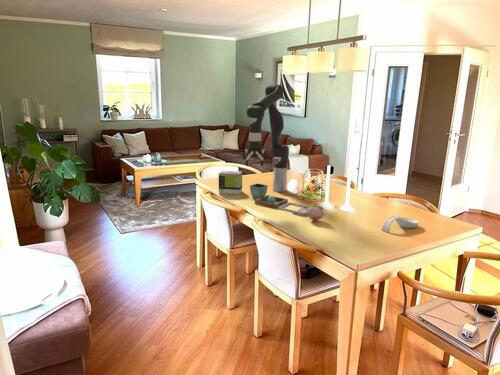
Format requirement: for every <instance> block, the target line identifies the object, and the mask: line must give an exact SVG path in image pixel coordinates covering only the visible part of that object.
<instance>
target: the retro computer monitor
mask: <svg viewBox="0 0 500 375" xmlns="http://www.w3.org/2000/svg"><path fill="white" fill-rule="evenodd" d="M241 193H243V171H242V170H240V171H235V170H221V171H220V172H218V194H221V195H222V194H225V195H236V196H237V195H241Z"/></svg>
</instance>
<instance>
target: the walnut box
mask: <svg viewBox="0 0 500 375" xmlns="http://www.w3.org/2000/svg"><path fill="white" fill-rule="evenodd" d="M269 196H271V195H269V194H268V195H267V194H266V195H265V197H262V198H259V199H257V198H256V199H254V204H255V205H257V206H263V207H266V208H271V209H278V207H279V206H282V205H284V204H286V203H288V201H289V199H287V198H282V197H279V196H274V197H275V202H274V203H269V202H268V197H269Z"/></svg>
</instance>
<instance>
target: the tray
mask: <svg viewBox="0 0 500 375" xmlns="http://www.w3.org/2000/svg"><path fill="white" fill-rule="evenodd" d="M289 205H292V206H296V207H299V208H300V207H301V208H300V209H298V210H294V209H291V208H285V207H287V206H289ZM308 206H309V205H304V204H300V203H295V202H291V201H289V202H288V203H286V204H284V205H282V206H279V207H278V208H277V210H281V211H285V212H290V213H291V214H293V215H296V216H301V217H306V216H308V215H307V209H308V208H309V207H308Z"/></svg>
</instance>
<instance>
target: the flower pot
mask: <svg viewBox="0 0 500 375" xmlns="http://www.w3.org/2000/svg"><path fill="white" fill-rule="evenodd" d="M249 189H250V195H251V197H252V198H253V199H256V200H257V199H259V198H262V197H265V196H267V192H268V184H263V183H259V182H258V183H254V184H251V185H249Z"/></svg>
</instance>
